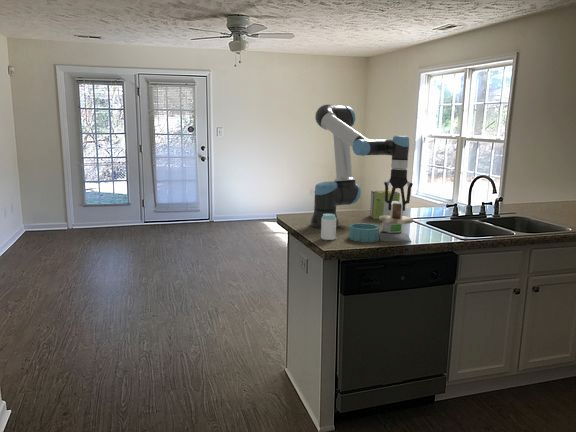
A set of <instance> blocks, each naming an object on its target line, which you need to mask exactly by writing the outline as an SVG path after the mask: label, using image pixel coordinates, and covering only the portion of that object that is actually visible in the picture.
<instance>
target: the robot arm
mask: <svg viewBox="0 0 576 432" xmlns="http://www.w3.org/2000/svg"><path fill="white" fill-rule="evenodd" d="M315 122H316V124H317V125H318V126H319V127H320V128H321V129H323V130H324V131H330V132H331V134H332V135H333V147H334V148H333V149H334V160H335V161H334V162H335V174H336V176H335V177H336V178H335V179H334V180H333V181H322V182H319V183H317V184H315V186H314V187H315V188H314V191H313V192H314V206H313V214H312V217H311V219H310V226H311V227H313V228H316V229H321V218H322V216H323V214H335V217H336V229H337V228H339V225H340V223H339V218H338V215H337V206H338V207H339V206H350V205H353V204H354V205H355V204H356V203H357V202H358V201H359V199H361V198H360V197H361V193H362V191H361V186H359V184H358V183H356V179H355V177H353V170H352V169H353V167H352V156H351V147H352V151H353V153H354V155H356V156H363V157H365V156H391V167H390V168H391V170H390V178H389V179H388V180H387V181H383V184H384V187H385V188H384V191H385V202H386V203H388V204H389V205H388V209H389V210H390V217H391V218H392V213H393V203H392V200H393V196H394V192H395V191H396V189H400V197H401V202H402V204H401V214H400V218H402V212H403V213H404V212H405V211H406V205H407V204H410V202H411V201H410V199H411V192H412V191H411V190H412V187H413V184H414V183H412V181H411V182H410V181H408V164H409V163H408V161H409V151H410V137H409V136H408V135H394V136H393V137H392V139H386V138H378V139H376V138H375V139H373V138H372V139H371V138H367V137H366V136H364V135H363V134H361V133H360V132H358V131H357V130H355V129H354V128H353V126H354V125H355V122H356V113H355V110H354V109H353V108H352V107H351V106H349V105H345V104H323V105H321V106H319V108H318V109H317V110H316V112H315ZM389 186H392V187H391V190H390V191H391V195H390V199H389V200H388V191H389ZM405 186H407V192H406V197H405V191H404V187H405Z"/></svg>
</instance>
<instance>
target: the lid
mask: <svg viewBox="0 0 576 432" xmlns="http://www.w3.org/2000/svg"><path fill="white" fill-rule="evenodd" d="M400 214H401V204H400V203H393V213H392V218H391V217H390V215H383V216H380V217H379V219H378V221H380V222H381V223H383V222H386V223H392V224H402V225H406V224H407V225H408V224H412V223H413V222H414V218H413V217H410V216H406V215H403V216H402V218H400Z"/></svg>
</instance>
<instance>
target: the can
mask: <svg viewBox="0 0 576 432" xmlns="http://www.w3.org/2000/svg"><path fill="white" fill-rule="evenodd" d="M336 237H337V228H336V217H335V214H323V216H322V218H321V228H320V238H321V240H323V241H327V240H331V241H334V240H335V239H336Z"/></svg>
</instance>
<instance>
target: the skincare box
mask: <svg viewBox="0 0 576 432" xmlns="http://www.w3.org/2000/svg"><path fill="white" fill-rule="evenodd" d="M392 203H400V204H402V201H399V202H398V201H392ZM388 205H389V204H388V203H386V202H385V201H384V210H383V215H390V210H389V209H388ZM402 216H404V211H403V212H402ZM381 229H382V230H381V231H382V232H385V233H389V234H397V233H402V229H403V224H392V223H386V222H382V227H381Z"/></svg>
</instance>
